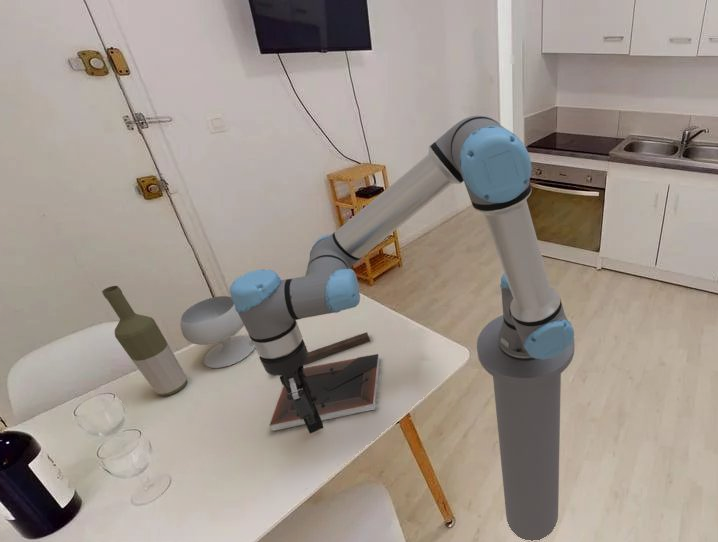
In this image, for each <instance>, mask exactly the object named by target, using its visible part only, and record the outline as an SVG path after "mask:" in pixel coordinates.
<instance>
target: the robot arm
mask: <svg viewBox="0 0 718 542" xmlns="http://www.w3.org/2000/svg"><path fill="white" fill-rule="evenodd" d="M531 176H532V161H531V157H530V154H529V151H528V150H527V148H526V146H525V144H524V142H523V141H522V140H521V139H520V138H519V137H518V136H517V134H515V133H514V132H512V131H511V130H509V129H507V128H505V127H504V126H503V125H502V124H500V123H499V122H498V121H497V120H495V119H493V118H492V117H489V116H487V115H472V116H467V117H465V118H463V119H461V120H460V121H458V122H457V123H455V124H454V125H453V126H452V127H450V128H449V129H448V130H447V131H446V132H445V133H443V134H442V135H441V136H440V137H439V138H437V140H436V141H434V142H433V143H432V144H430V145H429V146H428V153H427V155H426V156H425V157H423V158H422V159H421V160H419V161H418V162H417V163H415V165H413V166H412V167H411V168H410V169H408V170H407V171H406V172H405V173H404V174H403V175H402V176H400V177H399V178H398V179H397V180H396V181H394V182H393V183H392V184H391V185H389V186H388V187H387V188H385V190H383V191H382V192H381V193H380V194H378V195H377V196H376V197H375V198H374V199H372V200H371V201H370V202H369V203H368V204H367V205H365V206H364V207H363V208H361V210H359V211H358V212H357V213H356V214H355V215H353V216H351V218H350V219H349V220H347V221H346V222H345V223H343V224H342V226H340V227H339V228H338V229H336V230H335V231H334V232H333V233H330V234H325V235H322V236H320V237H319V238H318V239H316V241H314V244H313V245H312V246H311V250H310V252H309V260H308V263H307V267H306V272H305V275H304V276H299V277H293V278H287V279H281V277H280V276H279V275H278V273H277V272H276V271H275V270H272V269H262V268H261V269H255V270H252V271H249V272H246V273H244V274H242V275H240V276H238V277H236V278H235V279H234V280H233V281H232V283H231V285H230V286H229V294H230V297H232V300H233V302H234V305H235V310H236V312H238V314H239V316H240V318H241V320H242V322H243V324H244V326H243V327H244V328H245V330H246V331H247V334H248V337H250V338H251V340H250V341H249V345H250V346H252V345H255V348H254V349H255V351H256V353H257V355H258V356H259V360H260V362H261V364H262V367H263V368H264V371H265V372H266V373H267V374H269V375H273V376H279V379H280V380H279V381H280V383H281V385H282V386H285V388H286V390H287V392H288V396H287V398H288V399H289V401H290V402H291V403H292V405H293V406H294V408H295V410H296V412H297V417H300V419H301V420H302V419H303V420H304V422H305V424H304V425H305V426H306V429H307V431H308V433H309V434H313V433H315V432H318V431H320V430H322V429H324V423H323V420H321V418H320V416H319V413H318V411H317V408H316V406H315V404H314V403H312V402H314V401H316V400H317V398H316V396H313V397H312V396H311V390H310V388H309V385H308V382H307V380H306V376H305V372H304V370H303V368H304V365H303V363H304V362H305V361H306V359H307V357H308V352H309V351H308V348H307V346H306V344H305V340H304V339H303V335H302V332H301V328H300V327H299V324H298V322H297V321H298V320H301V319H306V318H312V317H317V316H318V317H319V316H323V315H329V314H337V313H340V312H342V311H346V310H349V309H353V308H356V307H357V306H358V305H359V304H360V301H361V295H360V285H359V281H358V277H357V274H356V272H355V271H354V270H353V269H352V267H353V266H354V265H355V264H356V263H357V262H359V261H360V260H361V259H363V257H364V256H366V255H367V254H368V253H369V252H371V251H372V250H374V248H375V247H377V246H378V245H379V244H380V243H382V242H383V241H384V240H385V239H386V238H387V237H389V236H390V235H392V234H393V233H395V231H397V230H398V229H399V228H400V227H402V226H403V225H404V224H405V223H406V222H407V221H408V220H410V219H411V218H412V217H413V216H415V215H416V214H417V213H419V211H421V210H422V209H423V208H425V207H427V205H428V204H429V203H430V202H432V201H433V200H434V199H436V198H437V197H438V196H439V195H441V194H442V193H443V192H444V191H445V190H447V189H448V188H449V187H450V186H451V185H454V184H457V185H460V184H462V183H464V186H465V188H466V191H467V194H468V197H469V199H470V202H471V205H472V208H473V209H474V210H475V211H478V212H480V213H482V214H483V215H484V218H485V221H486V223H487V226H488V229H489V232H490V235H491V238H492V241H493V244H494V247H495V250H496V252H497V255H498V259H499V261H500V265H501V267H502V270H503V272H504V273H503V274H502V275H501V278H500V289H501V291H500V292H501V305H502V315H503V319H504V320H503V323H502V326H501V330H500V332H499V337H498V341H499V347H500V349H501V351H502V352H503V353H504V354H505V355H507V356H508V357H510V358H513V359H517V360H533V359H550V358H553V357H555V356H557V355H559V354H561V353H562V352H563V351H565V350H566V349H567V347H568V346H569V345H570V344H571V342H572V341H573V338H574V339H575V330H574V327H573V324H572V322H571V321H569V319H568V318H567V316H566V313H565V310H564V306H563V303H562V298H561V296H560V293H559V292H558V290H557V289H555V288H554V287H552V286H551V284H550V281H549V277H548V273H547V270H546V266H545V263H544V258H543V255H542V251H541V248H540V243H539V241H538V237H537V233H536V229H535V227H534V223H533V219H532V216H531V215H532V214H531V212H530V208H529V204H528V201H527V200H528V199H529V197H530V196H531V194H532V190H533V188H532V184H531V181H530V179H531Z"/></svg>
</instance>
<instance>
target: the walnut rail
mask: <svg viewBox="0 0 718 542" xmlns="http://www.w3.org/2000/svg"><path fill="white" fill-rule="evenodd" d="M369 342H371V340H370V337H369V334H368V331H366V332H363V333H361V334H357V335H354V336H351V337H348V338H345V339H343V340H339V341H337V342H334V343H331V344H328V345H325V346H321V347H319V348H317V349H313V350H311V351H308V357H307V359H306V361H305V362H304V363H303V366H305V365H307V364H310V363H313V362H316V361H320V360H321V359H325V358H327V357H330V356H333V355H335V354H338V353H341V352H344V351H347V350H350V349H353V348H355V347H359V346H361V345H364V344H367V343H369Z"/></svg>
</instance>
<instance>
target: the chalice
mask: <svg viewBox="0 0 718 542" xmlns="http://www.w3.org/2000/svg"><path fill="white" fill-rule="evenodd" d="M179 323H180V330H181V331H180V332H181V334H182V337H183V338H184V339H185V340H186V341H187V342H189V343H191V344H192V345H193V344H194V345H198V346H208V345H214V344H216V345H215V346H213V347H212V348H211V349H210V350H209V351H208V352H207V353H206V354H205V356H204V359H203V363H204V365H205V366H206V367H208V368H213V369H219V368H225V367H228V366H231V365H234V364H236V363H238V362H240V361H242V360H244V359H245V358H246V357H248V356H249V355H250V354H251V353H252V352H253V351H254V349H255V345H252V346H250V345H249V341H250V340H251V338H250V337H249V336H247V335H246V336H245V335H244V336H242V335H241V336H235V335H236V334H238V333H239V332H240V331H241V330H242V329H243V328H244V327H245V326H244V324H243V322H242V320H241V318H240V316H239V314H238V312H236V310H235V305H234V302H233V300H232V297H231V296H228V295H221V296H213V297H210V298H205V299H204V300H201V301H198V302H197V303H195V304H193V305H191V306H190V307H189V308H187V309H186V310H185V311H184V312H183V313H182V315H181V318H180V322H179ZM233 336H234V337H233Z"/></svg>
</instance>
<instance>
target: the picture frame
mask: <svg viewBox="0 0 718 542" xmlns="http://www.w3.org/2000/svg"><path fill="white" fill-rule="evenodd" d="M379 369H380V356H379V353H375V354H370V355H365V356H364V355H363V356H358V357H357V358H356V357H355V358H351V359H344V360H339V361H333V362H329V363H324V364H317V365H313V366H307V367H303V370H304V372H305V376H306V380H307V382H308V385H309V388H310V390H311V396H312V397H313V396H316V398H317V400H316V401H314V402H312V403H314V404H315V406H316V408H317V411H318V413H319V416H320V418H321V420H322V421H326V420H330V419H334V418H340V417H345V416H350V415H354V414H359V413H364V412H368V411H373V410H375V409H376V401H377V400H376V399H377V389H378V379H379ZM282 386H283V387H282V389H281V392H280V394H279V398H278V400H277V404H276V407H275V409H274V412H273V414H272V417H271V420H270V423H269V427H270V430H271V431H272V432H275V431H278V430H279V431H280V430H283V429H284V430H285V429H288V428H293V427H298V426H302V425H306V424H305V422H304V420H303V419H302V420H301V419H300V417H297V412H296V410H295V408H294V406H293V405H292V403H291V402H290V401H289V399H288V398H287V396H288V392H287V390H286V388H285V386H284V385H282Z"/></svg>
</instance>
